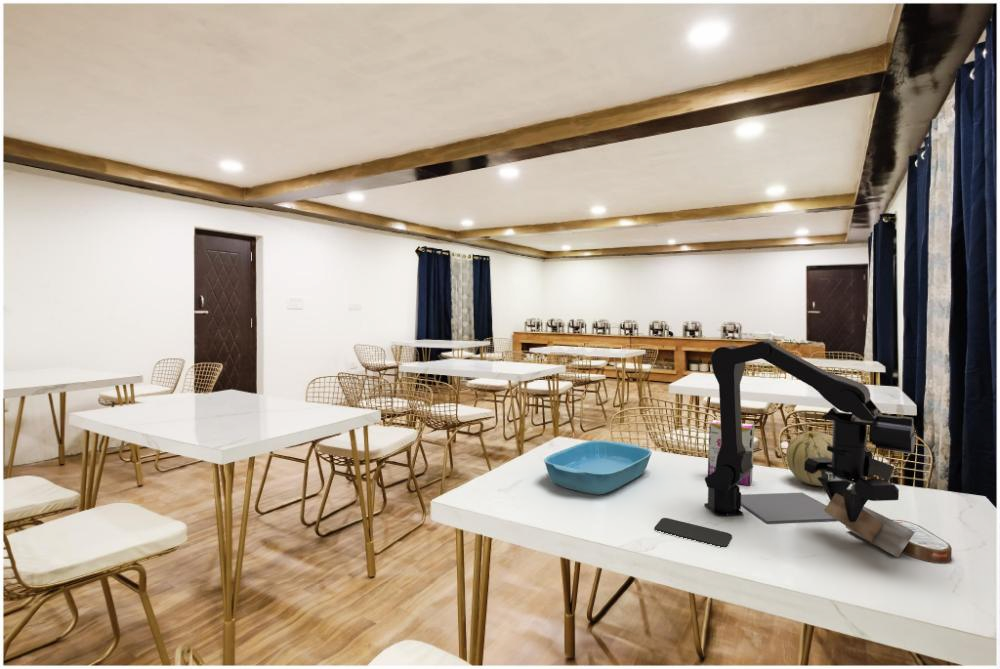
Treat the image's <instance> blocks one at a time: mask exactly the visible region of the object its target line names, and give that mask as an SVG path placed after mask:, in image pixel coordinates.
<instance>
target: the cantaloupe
mask: <svg viewBox="0 0 1000 669" xmlns="http://www.w3.org/2000/svg"><path fill="white" fill-rule="evenodd" d="M832 442H833V435H831V434H828V433H825V432H821V431H808V432H804V433H800V434H799V435H796V436H795V437H793V438H792V439H791V440H790V442H789V443H788V445H787V448H786V450H785V451H786V452H785V456H786V463H787V465H788V466H787V467H788V469H789V470H790V472H791V473H792V474H793V476H794V477H795V478H797V479H798V481H799V480H800V481H801V482H803V483H805V484H807V485H811V486H817V487H823V486H822V484H821V482H820V481H819V480H818V477H821V471H820V470H818V471H817V472H816V473H815V474H812V473H809V472H807V471H805V470H804V465H805V461H806V460H807V459H808V458H823V457H827V458H830V459H832V452H830V451H828V450H827V446H832Z"/></svg>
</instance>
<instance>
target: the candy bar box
mask: <svg viewBox="0 0 1000 669" xmlns="http://www.w3.org/2000/svg"><path fill="white" fill-rule="evenodd" d="M741 424H742V443H743V446H744V448H745V450H746V451H752V459H751V461H752V465H753V464H754V444H755V443H754V441H755V424H750V423H744V422H743V423H742V422H741ZM720 447H721V421H720V420H719V419H712V420H711V421H710V422H709V434H708V454H707V456H708V458H707V476H709V475H710V474H711V473H713V472H714V471H715V467H716V460H717V455H718V452H719V450H720ZM753 466H754V465H753ZM753 468H754V467H753ZM753 468H752V469H750V473H749V474H748V476H746V477H745V478H743V479H742V480H741V482H740V483H739V484H738V485H741V486H747V487H750V486H751V484H752V482H753V472H754V471H753Z"/></svg>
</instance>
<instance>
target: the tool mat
mask: <svg viewBox="0 0 1000 669" xmlns="http://www.w3.org/2000/svg"><path fill="white" fill-rule="evenodd" d="M827 505H828V504H827ZM827 505H826V504H825V503H823V502H821V501H819V500H817V499H815V498H814V497H811V496H810V495H808V494H806V493H804V492H783V493H781V492H780V493H779V492H777V493H776V492H775V493H750V494H741V507H742V506H743V507H742V508H744V509H745V510H747V511H749V513H751V514H752V515H754V516H755V517H757V518H759V519H760V520H761V521H762V522H764V523H765V524H767V525H769V524H773V525H774V524H792V523H816V522H817V523H818V522H820V523H821V522H839V521H838V520H836V519H835V518H833V517H832V516H830V515H829V514H827V513H826V512H825V511H824V509H825V508H826V506H827Z"/></svg>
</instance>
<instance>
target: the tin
mask: <svg viewBox="0 0 1000 669" xmlns="http://www.w3.org/2000/svg"><path fill="white" fill-rule="evenodd" d="M892 520H893V521H895V522H897V523H899V524H901V525H903V526H905V527H907V528H909V529H910V530H912V531H913V532H915V533H914V534H913V536H912V537H911V539H910V540H909V542H908V543H907V545H906V546H905V548H904V549H903V551H902V552H901V553H904V554H905V555H908V556H910V557H911V558H915V559H918V560H921V561H925V562H930V563H937V564H947V563H951V562H952V560H953V559H952V555H953V554H952V553H953V552H952V545H950V544H949V542H947V541H945V540H944V539H942V538H941V537H939V536H937V535H935V534H934V533H932V532H931V531H929V530H928V529H926V528H924V527H922V526H921V525H919V524H916V523H913V522H911V521H907V520H903V519H892Z"/></svg>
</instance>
